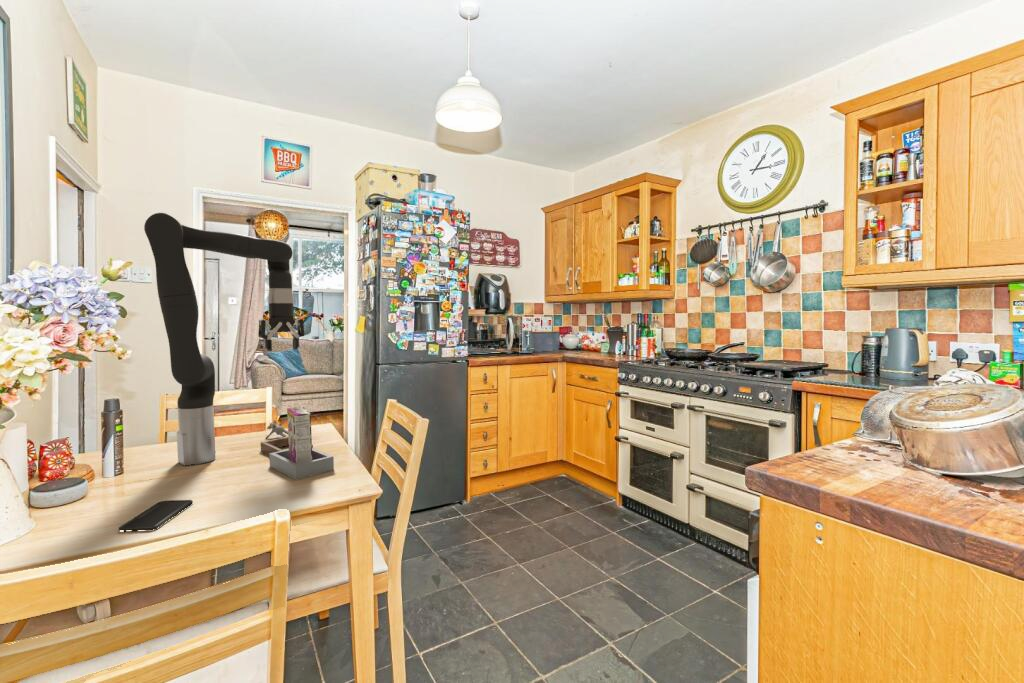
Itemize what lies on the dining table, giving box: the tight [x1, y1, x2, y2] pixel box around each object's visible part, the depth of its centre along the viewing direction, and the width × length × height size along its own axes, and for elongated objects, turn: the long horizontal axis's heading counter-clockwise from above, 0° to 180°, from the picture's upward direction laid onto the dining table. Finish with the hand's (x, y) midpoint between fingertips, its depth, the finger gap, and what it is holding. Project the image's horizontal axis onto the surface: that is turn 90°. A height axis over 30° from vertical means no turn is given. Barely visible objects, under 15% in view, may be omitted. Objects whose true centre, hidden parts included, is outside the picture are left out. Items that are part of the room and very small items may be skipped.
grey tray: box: [268, 447, 335, 480], centre depth 143 cm, size 11×17×4 cm, turn 49°
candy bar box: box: [286, 406, 313, 464], centre depth 142 cm, size 11×5×16 cm, turn 34°
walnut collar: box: [260, 437, 314, 455], centre depth 158 cm, size 10×16×3 cm, turn 49°
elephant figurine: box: [264, 417, 288, 440], centre depth 176 cm, size 10×6×9 cm
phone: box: [118, 499, 193, 531], centre depth 110 cm, size 8×1×15 cm
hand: (282, 350), depth 163 cm, fingers open, 8 cm apart
